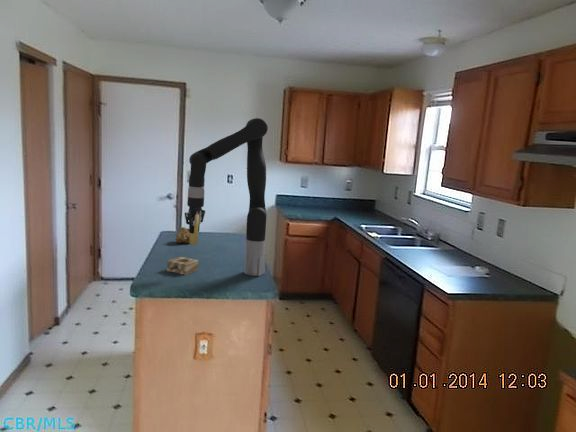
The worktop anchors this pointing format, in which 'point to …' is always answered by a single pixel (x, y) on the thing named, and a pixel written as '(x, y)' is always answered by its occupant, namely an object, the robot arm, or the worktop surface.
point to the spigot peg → (195, 232)
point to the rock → (183, 236)
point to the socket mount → (182, 265)
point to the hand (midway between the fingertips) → (194, 232)
